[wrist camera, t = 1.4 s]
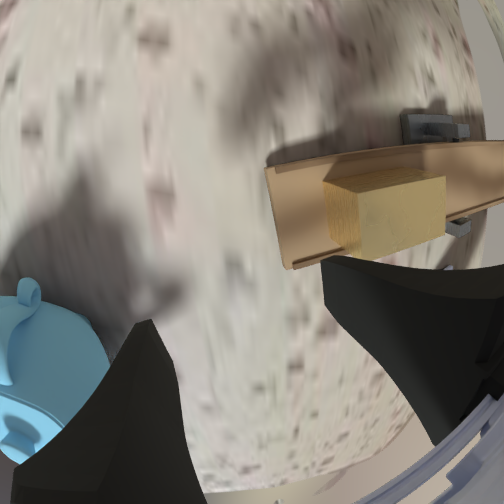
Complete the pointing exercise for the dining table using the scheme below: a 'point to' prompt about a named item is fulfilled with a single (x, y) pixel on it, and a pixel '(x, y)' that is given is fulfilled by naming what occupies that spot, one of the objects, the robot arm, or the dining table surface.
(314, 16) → the dining table surface
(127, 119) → the dining table surface
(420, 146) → the beam
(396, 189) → the block
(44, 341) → the teapot
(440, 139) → the pivot stand
